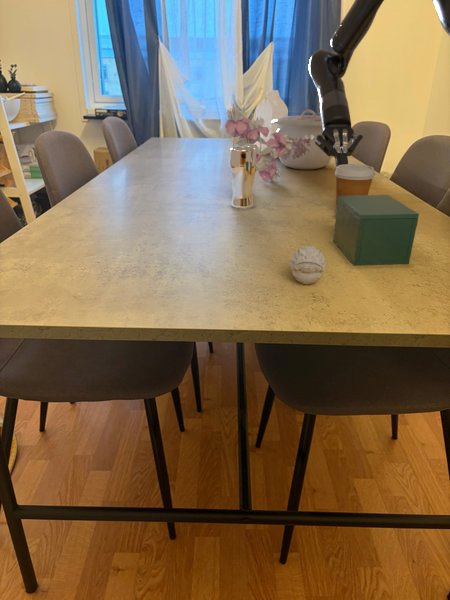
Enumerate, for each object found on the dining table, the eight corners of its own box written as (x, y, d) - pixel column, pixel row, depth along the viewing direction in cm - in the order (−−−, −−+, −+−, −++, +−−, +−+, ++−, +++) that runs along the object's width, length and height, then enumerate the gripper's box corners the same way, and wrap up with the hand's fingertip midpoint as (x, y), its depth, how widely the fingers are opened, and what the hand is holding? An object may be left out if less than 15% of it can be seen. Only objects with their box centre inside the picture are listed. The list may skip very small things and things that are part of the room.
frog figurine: (287, 291, 71) (290, 251, 68) (288, 274, 77) (291, 237, 74) (325, 293, 70) (329, 253, 67) (323, 276, 76) (327, 238, 73)
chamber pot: (343, 174, 156) (350, 112, 146) (266, 172, 159) (269, 111, 150) (337, 161, 180) (343, 107, 171) (271, 159, 184) (273, 106, 175)
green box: (333, 241, 93) (337, 200, 89) (381, 239, 93) (388, 199, 89) (353, 265, 81) (360, 219, 77) (408, 264, 81) (418, 218, 77)
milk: (270, 147, 215) (272, 89, 203) (287, 150, 207) (291, 90, 195) (252, 150, 208) (254, 90, 196) (269, 153, 200) (272, 90, 188)
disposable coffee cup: (372, 214, 111) (380, 165, 105) (362, 223, 104) (370, 172, 98) (336, 209, 115) (341, 162, 110) (324, 218, 108) (329, 168, 102)
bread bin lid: (337, 199, 89) (337, 195, 89) (387, 198, 90) (387, 194, 89) (360, 219, 77) (360, 215, 76) (418, 218, 77) (419, 213, 77)
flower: (295, 189, 129) (303, 105, 128) (220, 181, 128) (227, 96, 127) (283, 202, 149) (289, 129, 148) (218, 196, 148) (224, 122, 147)
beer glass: (250, 209, 115) (252, 150, 108) (226, 207, 117) (226, 149, 110) (257, 203, 120) (259, 147, 114) (234, 201, 123) (234, 145, 116)
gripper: (314, 103, 114) (321, 159, 109) (363, 103, 114) (372, 159, 109) (307, 123, 121) (314, 176, 116) (354, 122, 122) (362, 176, 116)
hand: (342, 167), depth 112 cm, fingers closed
